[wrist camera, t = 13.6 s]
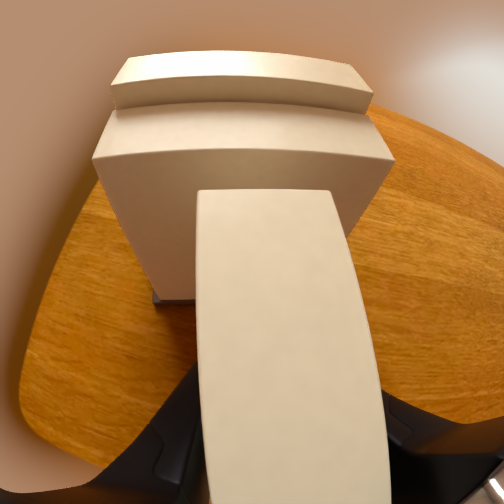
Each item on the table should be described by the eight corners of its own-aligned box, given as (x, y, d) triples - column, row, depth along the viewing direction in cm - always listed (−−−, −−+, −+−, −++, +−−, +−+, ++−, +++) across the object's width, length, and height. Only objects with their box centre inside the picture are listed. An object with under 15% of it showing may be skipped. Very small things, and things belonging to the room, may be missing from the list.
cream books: (312, 298, 20) (422, 147, 8) (154, 305, 18) (65, 142, 6) (296, 215, 23) (351, 57, 11) (160, 218, 22) (124, 50, 10)
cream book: (275, 460, 13) (392, 552, 2) (224, 465, 13) (227, 591, 2) (261, 336, 17) (330, 189, 6) (213, 338, 17) (197, 189, 6)
